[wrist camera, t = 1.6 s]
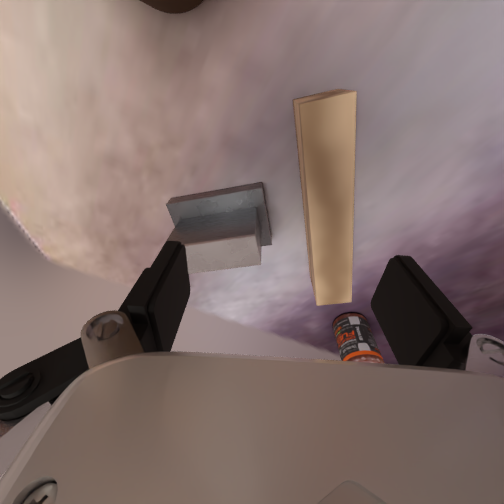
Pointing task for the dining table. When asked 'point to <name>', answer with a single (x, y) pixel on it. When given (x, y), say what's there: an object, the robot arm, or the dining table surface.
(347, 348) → the supplement bottle
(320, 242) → the oak bar
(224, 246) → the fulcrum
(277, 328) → the dining table surface
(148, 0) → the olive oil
